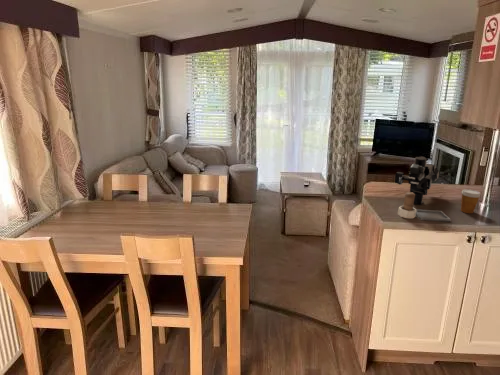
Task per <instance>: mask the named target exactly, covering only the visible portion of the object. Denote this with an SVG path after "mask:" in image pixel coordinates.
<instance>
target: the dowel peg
mask: <svg viewBox="0 0 500 375" xmlns="http://www.w3.org/2000/svg"><path fill="white" fill-rule="evenodd" d="M404 193H405V194H404V199H403V204H402V206H403V210H407V211H412V209H413V208H414V198H415V194H414V193H413V192H410V191H408V192H407V191H406V192H404Z"/></svg>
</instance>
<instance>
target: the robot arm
mask: <svg viewBox="0 0 500 375" xmlns="http://www.w3.org/2000/svg"><path fill="white" fill-rule="evenodd" d="M414 159H415V160H414V163H412V164H411V165H410V167H409V173H408V175H405V173H404V172H402V171H397V172H396V173H395V174H394V175H395V177H394V183H396V184H397V185H403V183H404V181H408V185H410V186H409V188H410V189H409V192H411V193H414V194H415V198H414V204H415V205H419V206H422V205H423V204H424V203H425V201H423V198H424V196H425V195H428V190H430V189H431V187H432V182H436V181H437V180H438V179H439V178H440V177H439V176H440V172H439V169H438V168H437V167H436V165H435V164H432V163H427V158H426V157H425V156H416V157H415V158H414ZM414 204H413V205H414Z"/></svg>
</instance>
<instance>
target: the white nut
mask: <svg viewBox="0 0 500 375" xmlns="http://www.w3.org/2000/svg"><path fill="white" fill-rule="evenodd" d="M417 210H418V209H417ZM417 210H416V208H415V207H413V209H412V211H407V210H403V205H400V206H399V207H398V210H397V215H398V216H399V217H401V218H405V219H414V218H416V217H417V215H416V211H417Z"/></svg>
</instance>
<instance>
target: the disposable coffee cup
mask: <svg viewBox="0 0 500 375" xmlns="http://www.w3.org/2000/svg"><path fill="white" fill-rule="evenodd" d="M480 198H481V192H480V191H478V190H475V189H470V188H468V189H466V188H465V189H462V191H461V200H460V201H461V203H460V211H461V212H463V213H465V214H473V213H474V211H475V209H476V207H477V204H478V202H479V199H480Z"/></svg>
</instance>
